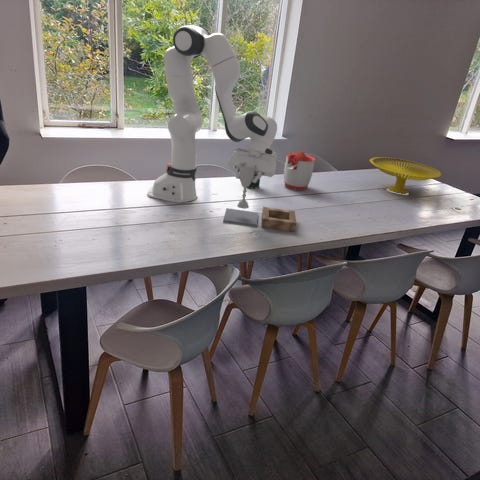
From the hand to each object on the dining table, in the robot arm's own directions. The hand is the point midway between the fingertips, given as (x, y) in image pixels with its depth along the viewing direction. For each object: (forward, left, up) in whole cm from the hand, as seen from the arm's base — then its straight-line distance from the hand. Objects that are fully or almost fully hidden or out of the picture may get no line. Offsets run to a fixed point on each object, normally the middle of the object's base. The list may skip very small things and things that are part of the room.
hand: (245, 180), depth 176 cm
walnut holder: (+16, 0, -17) cm, 24 cm away
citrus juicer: (+26, +55, -18) cm, 64 cm away
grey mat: (0, 0, -17) cm, 17 cm away
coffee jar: (+2, +47, -18) cm, 51 cm away
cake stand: (+88, +75, -18) cm, 117 cm away
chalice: (0, +1, -12) cm, 12 cm away
